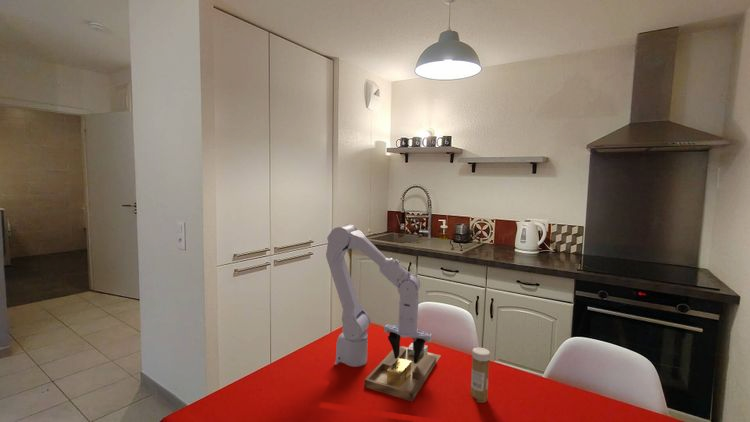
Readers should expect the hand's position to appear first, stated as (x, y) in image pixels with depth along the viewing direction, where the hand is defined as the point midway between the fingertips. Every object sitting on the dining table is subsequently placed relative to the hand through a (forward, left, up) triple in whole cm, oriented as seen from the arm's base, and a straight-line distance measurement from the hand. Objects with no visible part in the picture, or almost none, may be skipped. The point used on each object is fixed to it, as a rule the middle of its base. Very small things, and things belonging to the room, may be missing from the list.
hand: (406, 359), depth 108 cm
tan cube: (0, -4, -3) cm, 5 cm away
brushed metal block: (0, +12, -3) cm, 12 cm away
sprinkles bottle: (+22, -3, -4) cm, 23 cm away
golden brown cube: (0, -8, -3) cm, 8 cm away
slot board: (0, 0, -4) cm, 4 cm away
